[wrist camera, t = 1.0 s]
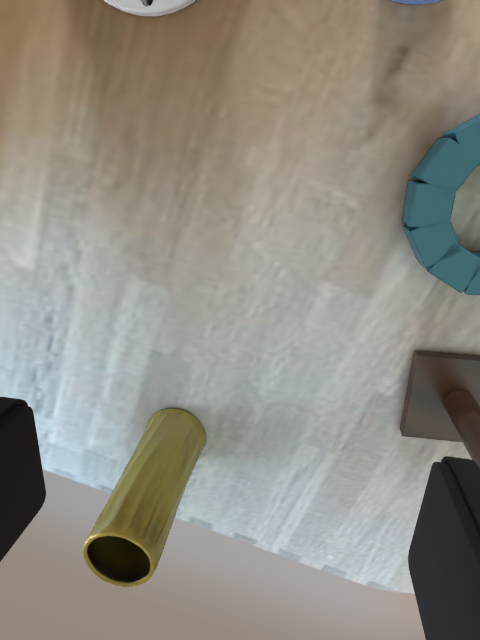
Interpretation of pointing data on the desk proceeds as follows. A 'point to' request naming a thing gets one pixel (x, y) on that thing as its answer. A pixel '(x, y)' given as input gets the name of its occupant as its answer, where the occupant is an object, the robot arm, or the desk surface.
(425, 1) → the decorative dice
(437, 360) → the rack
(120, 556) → the vase
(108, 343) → the desk surface
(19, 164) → the desk surface
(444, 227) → the ring
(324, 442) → the desk surface
